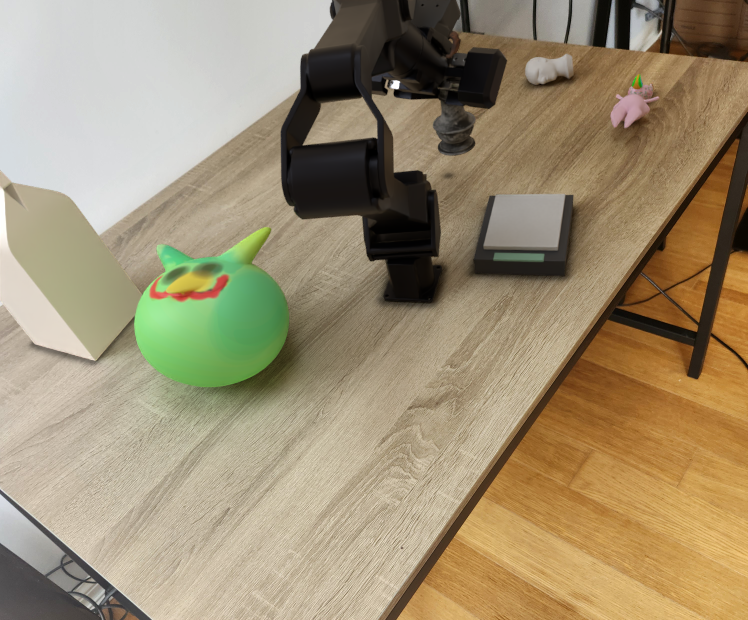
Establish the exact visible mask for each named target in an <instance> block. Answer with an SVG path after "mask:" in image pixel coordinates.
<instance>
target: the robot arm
mask: <svg viewBox="0 0 748 620" xmlns="http://www.w3.org/2000/svg"><path fill="white" fill-rule="evenodd" d="M461 12H462V11H461V9H460V6H459V4H458V1H457V0H331V2H330V5H329V15H330V16H329V17H330V19H331V22H330V24H329V25H328V27H327V28H326V29H325V31H324V33H323V34H322V35H321V37H320V39H319V40H318V41H317V43H316V45H315V46H314V47H313V48H311V49H310V50H309V51H308V53H303V54H302V55H301V57H300V61H299V63H300V64H299V77H300V78H299V82H300V83H299V86H300V89H299V91H298V93H297V95H296V98H295V100H294V101H293V104H292V105H291V107H290V110H289V111H288V114H287V115H286V117H285V119H284V121H283V123H282V125H281V129H280V180H281V181H280V182H281V189H282V193H283V198H284V199H285V201H286V202H285V203H286V204H288V206H289V207H292V208H293V213H294V214H295V215H296V217H297V218H299V219H301V220H305V221H306V220H315V219H327V218H328V219H329V218H339V217H351V216H358V217H361V220H362V234H363V241H364V247H365V254H366V257H367V258H368V260H369V262H376V261H384V262H385V267H386V271H387V275H388V281H387V283H386V287H385V290H384V293H383V296H382V297H383V300H384V301H386V302H401V303H402V302H403V303H404V302H407V303H425V304H426V303H427V304H431V303H433V302H434V301H435V298H436V294H437V290H438V287H439V283H440V279H441V276H442V274H443V265H441V264H433V263H434V262H433V259H432V257H433V258H439V255H440V246H441V237H442V229H441V218H440V208H439V206H440V205H439V197H438V192H437V189H432V185H431V182H430V181H429V180H428V175H427V173H424V171H422V170H419V169H417V170H416V169H414V170H406V171H405V170H403V171H396V172H395V163H394V157H395V156H394V153H395V152H394V134H393V132H392V131H391V129H390V127H389V125H388V123H387V121H386V119H385V118H384V115H383V114H382V113H381V110H380V109H379V107H378V106H377V104H376V103H375V101H374V100H373V96H374V95H375V96H383V97H387V95H388V93H389V90H393V91H392V93H393V97H394V98H395V99H405V100H410V101H414V100H417V101H418V100H439V99H438V94H439V93H440V89H446V90H448V94H447V98H446V101H445V104H449V105H457V106H464V107H465V106H466V107H470V108H476V109H484V110H491V109H492V108H493V107H494V106H496V102H497V98H498V95H499V92H500V90H501V89H500V88H501V85H502V81H503V77H504V74H505V70H506V67H507V64H508V59H507V57H506V55H505V54H504V53H503V52H502V51H501V50H500V49H499V48H491V47H480V46H479V47H477V46H472V47H471V48H470V49H469V50H468V51H467V53H465V52H457V53H455V54H453V55H452V57H451V58H446V54H448V55H450V53H451V49H452V45H453V41H451V40H450V39H449V40H448V38H449V36H450V35H451V33H452V31H454V29H455V26H456V24H457V22H458V21H459V20H460V18H461V15H462V13H461ZM451 66H453V67H451ZM386 83H387V84H386ZM386 87H387V88H386ZM359 99H362V100H363V101H364V102H365V104H366V105H367V107H368V109H369V110H370V112H371V114H372V116H373V117H374V118H375V120H376V137H365V138H356V139H355V138H353V139H347V140H345V139H344V140H338V141H337V140H336V141H330V142H329V141H328V142H320V143H312V144H311V143H310V144H304V143H305V142H306V140H307V138H308V136H309V134H310V132H311V129H312V128H313V127H314V124H315V122H316V120H317V118H318V116H319V114H320V112H321V108H322V104H326V103H334V102H343V101H349V100H359Z"/></svg>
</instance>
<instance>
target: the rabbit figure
mask: <svg viewBox="0 0 748 620" xmlns="http://www.w3.org/2000/svg"><path fill="white" fill-rule="evenodd" d="M654 92H655V85H654V81H652V82H651V83H650V84H649V85H648V84H644V83H643V81H642V75H641V73H638V74H637V75H636V76H635V77H634V79H633V81H632V83H631V86H630V87H629V88H628V90H627V95H625V96H622V95H620V94H618V93H617V94H615V98H616V99H618V100H619V101H618V102H617V103H616V104H615V105H614V106H613V108H612V110H611V112H610V121H611V125H612V127H613V128H614V129H615V128H617V127H618V125H619V124H620V123H621V122H624V125H623V126H624V127H623V128H624V129H628V128H629V127H630V126H631V125H632V124H633V123H634V122H636V121H638V120H640V119H642V118H643V117H645V116H646V115H648V114H649V113H650V111H651V108H650V106H649V105H648V104H649V103H650V104H651V103H654V102H656V101H659V100H660V96H654V97H653V94H654Z"/></svg>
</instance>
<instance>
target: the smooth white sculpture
mask: <svg viewBox="0 0 748 620" xmlns="http://www.w3.org/2000/svg"><path fill="white" fill-rule="evenodd" d="M573 61H574V60H573V55H571V54H569V53H565V54H564V55H562V56H561V57H557V58H547V57H543V56H535V57H532V58H531V59H529V60H528V61H527V62H526V65H525V68H524V74H525V77H526V80H527V81H528V82H529V83H530V84H532V85H534V86H538V85H540V84H541V85H545V84H547V83H550V82H554V81H555V80H557V78H558V77H564V78H566V79H568V80H570V79H571V78H572V77H574V73H575V72H574V63H573Z"/></svg>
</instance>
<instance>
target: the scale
mask: <svg viewBox="0 0 748 620" xmlns="http://www.w3.org/2000/svg"><path fill="white" fill-rule="evenodd" d="M574 196H575V195H574V194H566V193H524V194H523V193H513V194H511V193H509V194H508V193H506V194H505V193H503V194H502V193H501V194H499V193H498V194H493V195H492V194H490V195H489V196H488V200H487V204H486V207H485V212H484V215H483V219H482V223H481V228H480V232H479V235H478V239H477V243H476V247H475V250H474V254H473V255H474V256H473V267H474V274H481V275H482V274H483V275H486V274H487V275H488V274H489V275H515V276H516V275H521V276H550V277H552V276H553V277H565V275H566V269H567V261H568V253H569V244H570V238H571V237H570V236H571V229H572V221H573V214H574V199H575V197H574Z"/></svg>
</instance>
